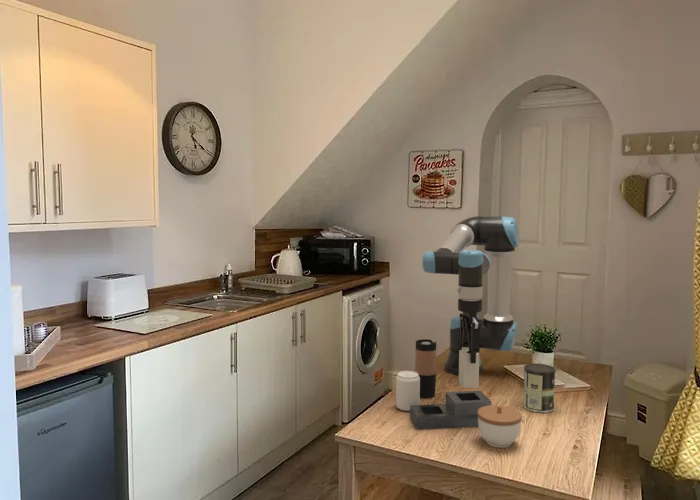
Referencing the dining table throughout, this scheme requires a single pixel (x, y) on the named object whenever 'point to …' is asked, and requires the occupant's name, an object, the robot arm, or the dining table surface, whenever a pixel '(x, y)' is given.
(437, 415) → the grey stepped socket block
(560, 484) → the dining table surface
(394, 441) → the dining table surface
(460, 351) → the plug
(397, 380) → the beverage can
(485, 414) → the lidded bowl
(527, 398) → the coffee can
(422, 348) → the travel mug
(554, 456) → the dining table surface
